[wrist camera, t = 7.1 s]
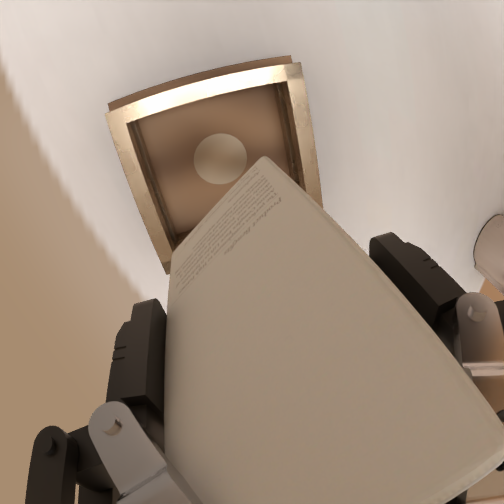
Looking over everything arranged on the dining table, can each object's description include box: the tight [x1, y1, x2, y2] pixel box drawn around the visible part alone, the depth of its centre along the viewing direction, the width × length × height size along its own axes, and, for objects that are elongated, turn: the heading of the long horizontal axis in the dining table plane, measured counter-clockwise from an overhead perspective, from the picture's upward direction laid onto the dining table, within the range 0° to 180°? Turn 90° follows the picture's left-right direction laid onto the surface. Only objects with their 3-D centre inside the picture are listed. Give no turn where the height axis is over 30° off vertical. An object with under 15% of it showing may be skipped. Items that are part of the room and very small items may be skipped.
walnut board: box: [108, 55, 292, 234], centre depth 24 cm, size 15×15×1 cm
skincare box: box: [164, 156, 504, 504], centre depth 8 cm, size 6×4×12 cm
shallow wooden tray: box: [105, 62, 323, 274], centre depth 22 cm, size 13×13×4 cm
